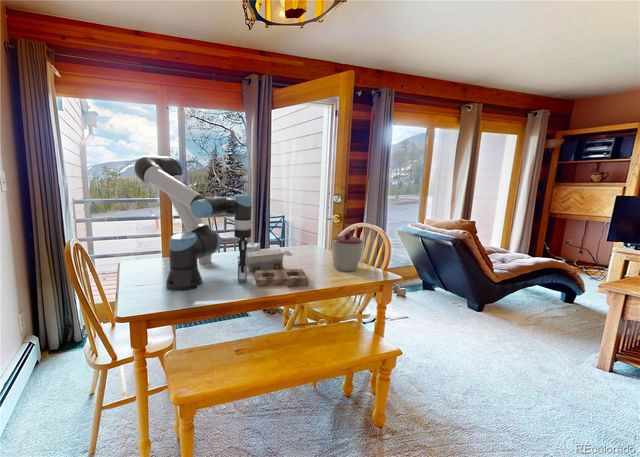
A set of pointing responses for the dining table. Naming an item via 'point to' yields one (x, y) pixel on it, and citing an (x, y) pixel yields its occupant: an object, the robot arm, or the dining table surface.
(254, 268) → the electrical outlet
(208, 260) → the coffee cup
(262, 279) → the socket board
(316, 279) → the dining table surface
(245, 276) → the plug
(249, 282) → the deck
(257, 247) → the light bulb box
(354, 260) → the canister
